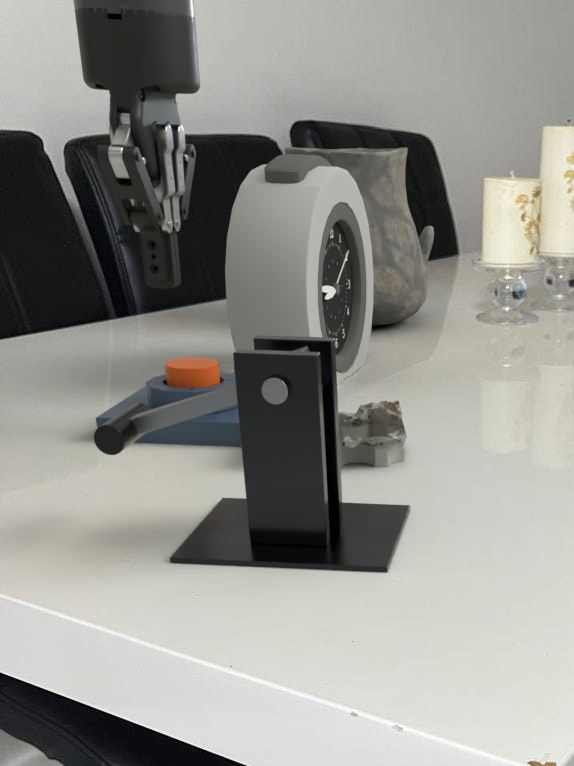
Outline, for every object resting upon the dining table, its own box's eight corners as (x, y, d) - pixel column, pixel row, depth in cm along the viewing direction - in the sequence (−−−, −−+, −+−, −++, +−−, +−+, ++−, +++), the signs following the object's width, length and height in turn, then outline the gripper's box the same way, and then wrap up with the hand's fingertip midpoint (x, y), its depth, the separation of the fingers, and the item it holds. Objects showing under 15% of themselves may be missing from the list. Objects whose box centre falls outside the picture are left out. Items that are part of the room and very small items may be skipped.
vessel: (261, 339, 115) (245, 146, 106) (271, 308, 134) (259, 143, 125) (448, 338, 118) (448, 150, 108) (432, 308, 137) (431, 146, 128)
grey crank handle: (104, 465, 55) (84, 423, 54) (138, 439, 59) (120, 401, 58) (309, 403, 52) (292, 359, 51) (328, 382, 57) (313, 340, 56)
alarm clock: (312, 403, 89) (298, 158, 80) (233, 397, 91) (211, 156, 81) (376, 356, 108) (370, 153, 99) (310, 352, 109) (299, 151, 100)
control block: (100, 452, 75) (91, 393, 73) (148, 418, 84) (141, 364, 82) (258, 459, 74) (252, 399, 72) (289, 423, 83) (285, 369, 81)
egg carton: (406, 452, 77) (406, 399, 75) (406, 482, 70) (406, 425, 68) (267, 450, 76) (263, 397, 74) (253, 481, 70) (249, 423, 68)
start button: (159, 390, 76) (156, 367, 75) (177, 379, 79) (174, 356, 78) (211, 392, 75) (209, 369, 75) (226, 380, 79) (224, 358, 78)
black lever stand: (171, 577, 55) (142, 360, 49) (224, 515, 64) (204, 324, 58) (387, 587, 54) (382, 368, 49) (410, 522, 63) (408, 331, 58)
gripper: (118, 17, 71) (146, 273, 79) (32, -6, 59) (74, 298, 67) (221, 21, 71) (239, 278, 79) (155, -1, 59) (184, 303, 67)
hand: (163, 286), depth 73 cm, fingers closed
